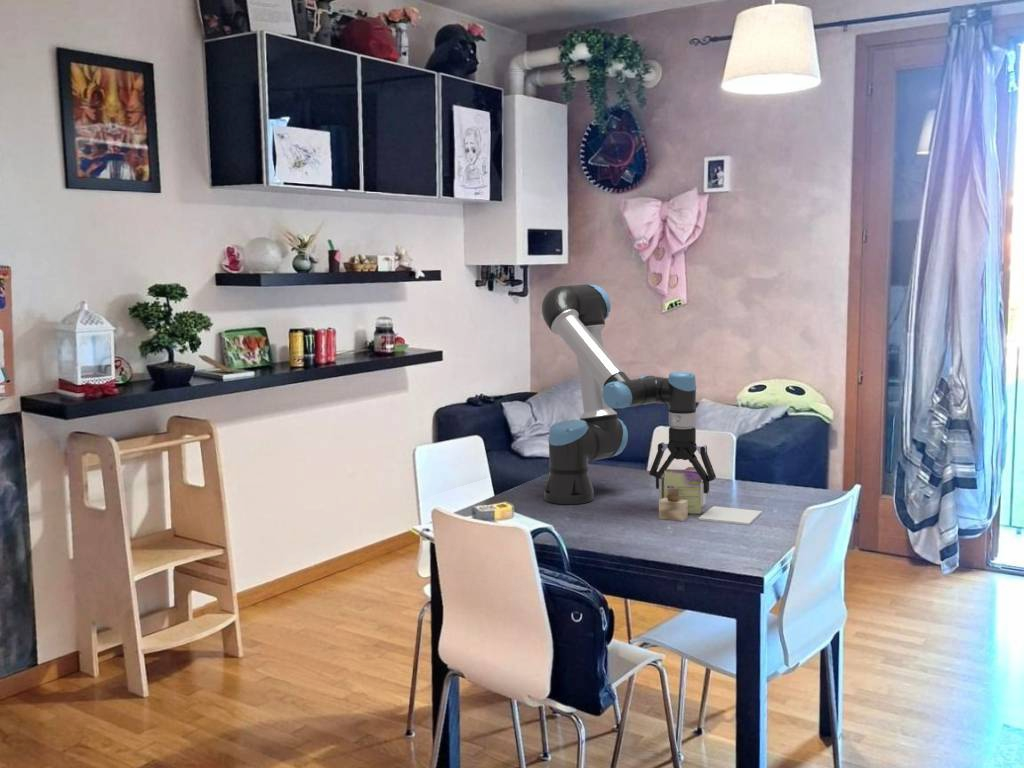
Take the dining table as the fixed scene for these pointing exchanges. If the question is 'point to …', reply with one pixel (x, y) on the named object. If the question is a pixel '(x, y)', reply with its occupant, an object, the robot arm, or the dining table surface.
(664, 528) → the dining table surface
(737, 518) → the pad
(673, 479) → the box
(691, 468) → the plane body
